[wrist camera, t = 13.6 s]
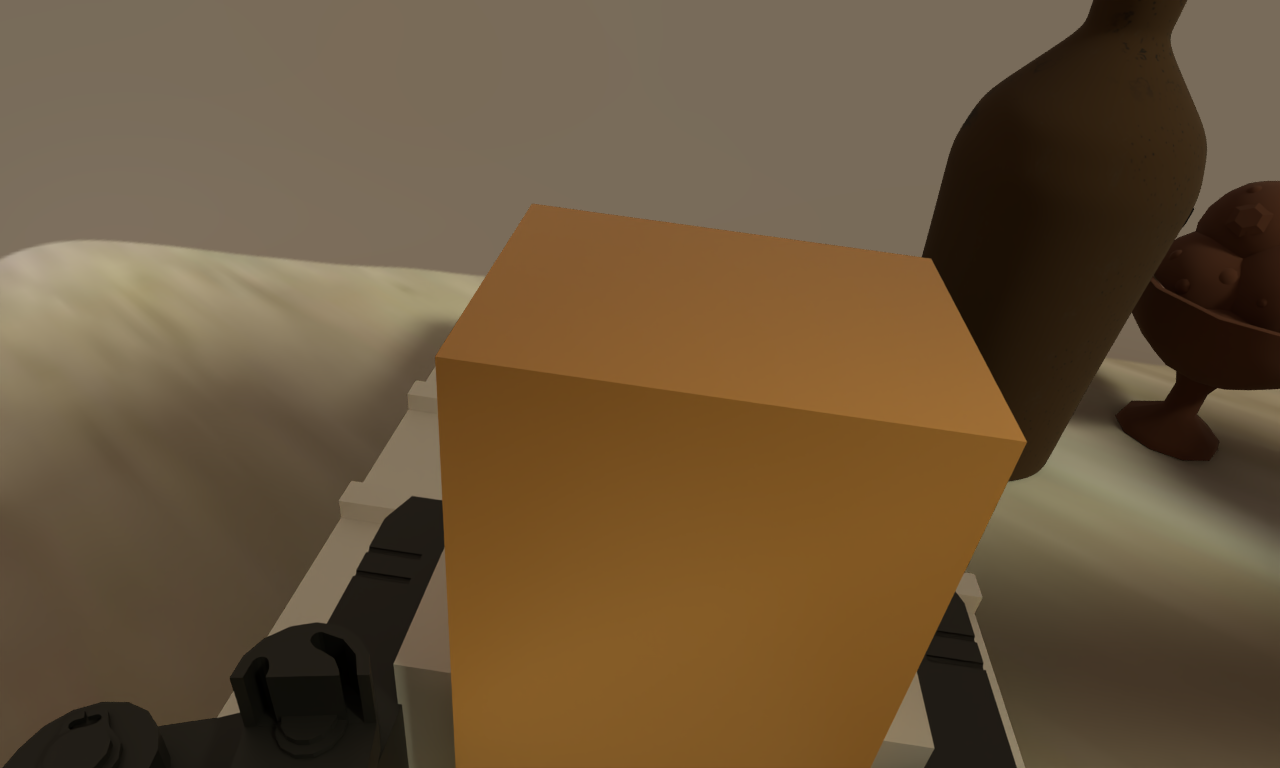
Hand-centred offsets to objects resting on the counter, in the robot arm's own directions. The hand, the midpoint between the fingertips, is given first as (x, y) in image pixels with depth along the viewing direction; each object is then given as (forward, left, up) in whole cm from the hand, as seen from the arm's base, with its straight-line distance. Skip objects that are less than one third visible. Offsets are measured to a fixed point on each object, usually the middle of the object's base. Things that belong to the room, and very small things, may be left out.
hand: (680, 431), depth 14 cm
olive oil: (-17, -26, -17) cm, 36 cm away
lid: (0, -3, -8) cm, 9 cm away
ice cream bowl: (-30, -29, -17) cm, 45 cm away
